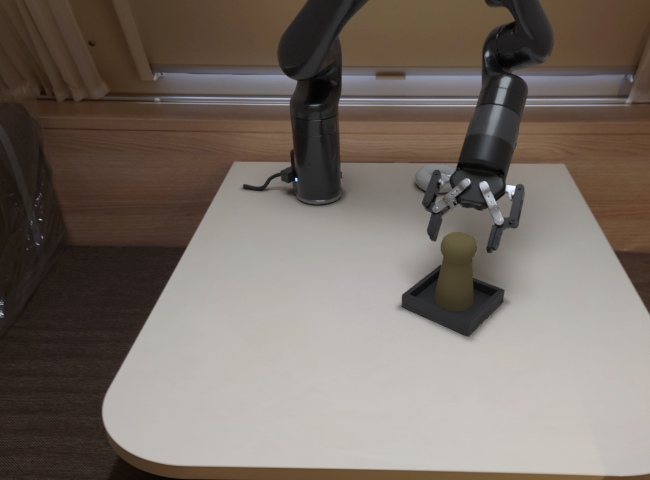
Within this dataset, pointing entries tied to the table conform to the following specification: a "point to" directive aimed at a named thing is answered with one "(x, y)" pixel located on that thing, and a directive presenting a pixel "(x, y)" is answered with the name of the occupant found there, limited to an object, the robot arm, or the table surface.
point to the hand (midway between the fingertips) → (460, 245)
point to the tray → (460, 321)
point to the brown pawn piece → (456, 272)
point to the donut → (426, 173)
